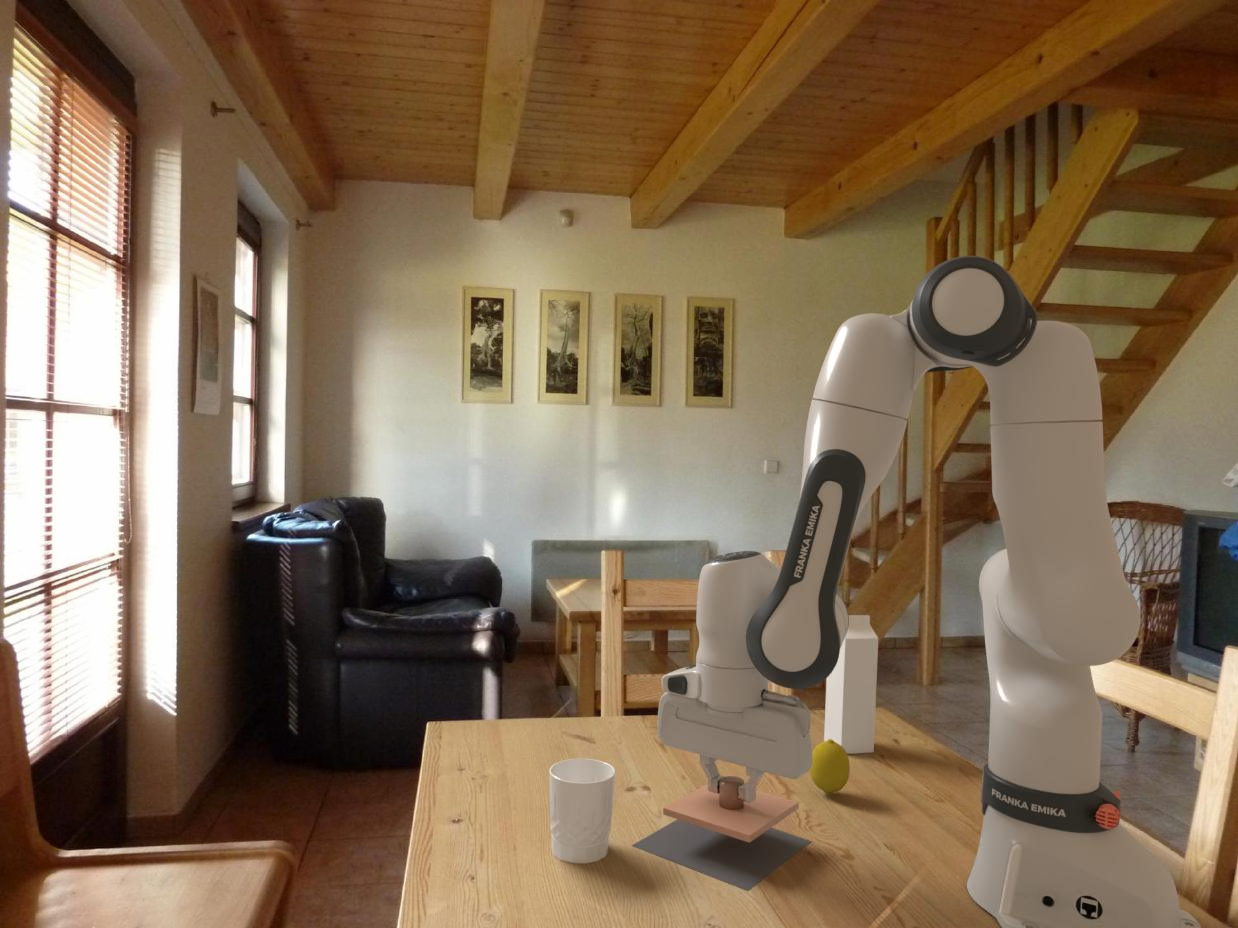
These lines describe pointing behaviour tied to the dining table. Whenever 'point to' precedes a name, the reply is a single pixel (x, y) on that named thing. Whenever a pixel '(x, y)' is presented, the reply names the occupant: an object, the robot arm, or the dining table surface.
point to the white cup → (581, 809)
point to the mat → (723, 852)
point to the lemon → (830, 767)
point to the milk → (853, 689)
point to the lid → (731, 810)
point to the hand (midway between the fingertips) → (731, 795)
